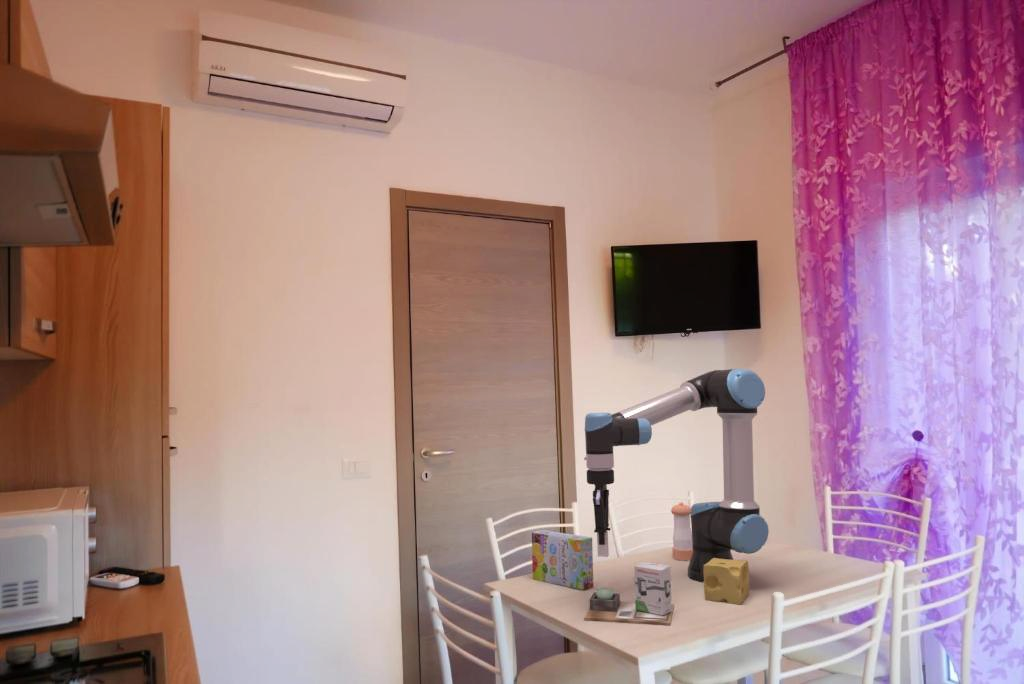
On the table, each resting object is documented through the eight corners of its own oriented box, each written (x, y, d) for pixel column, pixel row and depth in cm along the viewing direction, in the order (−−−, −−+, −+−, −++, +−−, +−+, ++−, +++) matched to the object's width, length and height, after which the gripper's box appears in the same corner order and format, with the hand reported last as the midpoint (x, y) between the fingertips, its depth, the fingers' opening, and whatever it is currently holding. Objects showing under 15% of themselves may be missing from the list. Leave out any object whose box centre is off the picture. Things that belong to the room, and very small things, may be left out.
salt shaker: (672, 555, 255) (669, 501, 256) (693, 555, 254) (690, 501, 255) (673, 560, 248) (671, 504, 249) (695, 560, 247) (692, 504, 248)
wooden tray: (673, 606, 197) (673, 593, 197) (670, 625, 182) (669, 611, 182) (594, 602, 203) (593, 589, 203) (584, 620, 188) (583, 606, 188)
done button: (614, 599, 198) (613, 588, 198) (611, 603, 194) (611, 592, 194) (598, 598, 199) (597, 587, 199) (595, 603, 195) (595, 591, 195)
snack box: (595, 587, 218) (593, 536, 219) (583, 591, 214) (581, 539, 215) (543, 575, 233) (541, 528, 234) (531, 579, 229) (530, 531, 230)
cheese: (741, 605, 196) (739, 568, 197) (702, 600, 202) (700, 564, 203) (750, 595, 205) (749, 560, 206) (713, 590, 211) (711, 556, 212)
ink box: (634, 610, 192) (632, 565, 192) (643, 605, 195) (642, 561, 196) (663, 615, 186) (661, 569, 187) (672, 611, 190) (670, 565, 191)
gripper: (590, 466, 206) (593, 549, 204) (582, 471, 193) (585, 561, 192) (617, 466, 204) (620, 550, 202) (610, 471, 191) (613, 562, 190)
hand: (603, 555), depth 197 cm, fingers closed
